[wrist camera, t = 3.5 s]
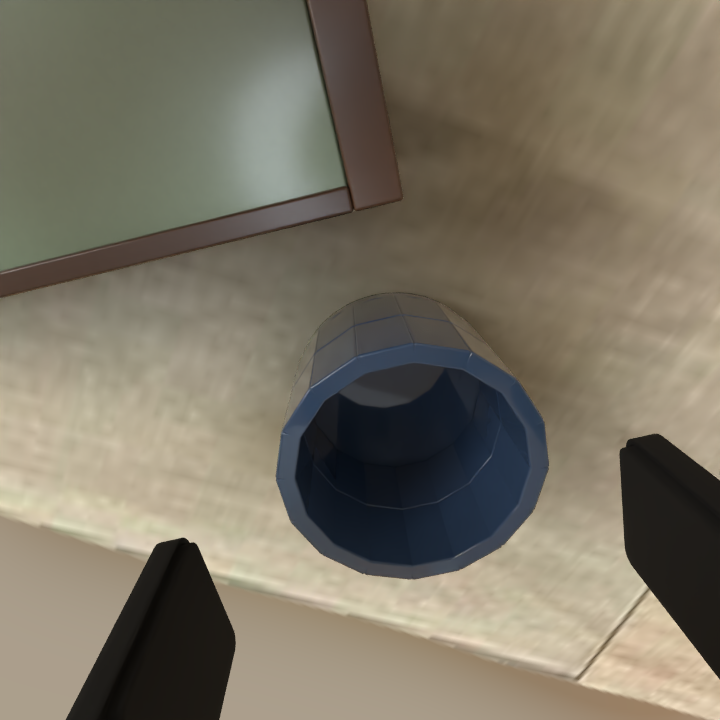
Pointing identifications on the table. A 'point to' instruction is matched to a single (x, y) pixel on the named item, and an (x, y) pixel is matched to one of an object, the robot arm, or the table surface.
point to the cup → (407, 441)
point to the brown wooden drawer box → (180, 128)
